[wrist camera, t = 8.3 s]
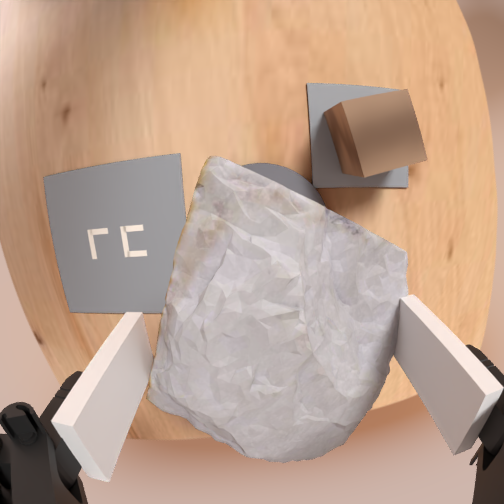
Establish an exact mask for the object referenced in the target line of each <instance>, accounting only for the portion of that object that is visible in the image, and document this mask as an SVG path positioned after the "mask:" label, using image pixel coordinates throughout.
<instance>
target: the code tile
mask: <svg viewBox="0 0 504 504" xmlns="http://www.w3.org/2000/svg"><path fill="white" fill-rule="evenodd" d="M44 186H45V195H46V202H47V209H48V216H49V222H50V228H51V234H52V239H53V244H54V250H55V254H56V259H57V264H58V268H59V272H60V276H61V280H62V284H63V288H64V292H65V296H66V299H67V303H68V307H69V310H70V312H80V313H126V312H143V313H162V311H163V309H164V306H165V304H166V302H165V297H166V293H167V289H168V285H169V281H170V277H171V274H172V270H173V258H174V254H175V250H176V247H177V244H178V241H179V238H180V235H181V232H182V229H183V227H184V225H185V223H186V212H185V202H184V191H183V179H182V167H181V154H180V153H179V154H170V155H162V156H155V157H147V158H140V159H134V160H127V161H121V162H115V163H109V164H103V165H98V166H93V167H87V168H82V169H77V170H72V171H68V172H63V173H58V174H54V175H50V176H45V177H44Z"/></svg>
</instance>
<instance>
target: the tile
mask: <svg viewBox="0 0 504 504" xmlns="http://www.w3.org/2000/svg"><path fill="white" fill-rule="evenodd" d="M392 91H398V90H397V89H389V88H380V87H371V86H359V85H345V84H324V83H307V93H308V106H309V121H310V137H311V157H312V182H313V187H314V188H336V187H408V166H404V167H401V168H397V169H393V170H390V171H386V172H383V173H379V174H376V175H372V176H369V177H365V178H363V177H358V176H353V175H348V174H343V173H342V170H341V167H340V163H339V160H338V156H337V153H336V150H335V147H334V143H333V140H332V137H331V134H330V131H329V128H328V125H327V122H326V119H325V116H324V113H323V112H325V111H327V110H328V109H330V108H331V107H333V106H335V105H336V104H338V103H340V102H342V101H346V100H351V99H355V98H360V97H365V96H370V95H375V94H381V93H386V92H392Z"/></svg>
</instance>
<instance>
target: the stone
mask: <svg viewBox="0 0 504 504" xmlns="http://www.w3.org/2000/svg"><path fill="white" fill-rule="evenodd" d="M407 266H408V258H407V252H406V251H404V250H403V249H401V248H399V247H398V246H396V245H394V244H392V243H390V242H389V241H387V240H385V239H383V238H381V237H379V236H377V235H376V234H374V233H372V232H370V231H368V230H367V229H365V228H363V227H362V226H360V225H358V224H356V223H354V222H352V221H351V220H349V219H347V218H345V217H343V216H341V215H339V214H337V213H335V212H333V211H331V210H329V209H327V208H326V207H324V206H322V205H321V204H319V203H317V202H315V201H313V200H311V199H309V198H307V197H304V196H302V195H300V194H298V193H296V192H294V191H292V190H290V189H288V188H286V187H285V186H283V185H281V184H279V183H277V182H275V181H273V180H270V179H268V178H266V177H264V176H262V175H260V174H258V173H255V172H253V171H251V170H249V169H247V168H244V167H242V166H240V165H238V164H235V163H233V162H231V161H229V160H227V159H224V158H222V157H218V156H210V157H209V158H208V159H207V160H206V162H205V164H204V166H203V168H202V170H201V173H200V176H199V179H198V182H197V185H196V187H195V191H194V195H193V198H192V202H191V206H190V209H189V213H188V216H187V220H186V223H185V225H184V227H183V229H182V232H181V235H180V238H179V241H178V244H177V247H176V250H175V254H174V258H173V270H172V274H171V277H170V281H169V285H168V289H167V293H166V297H165V302H166V304H165V306H164V309H163V311H162V316H161V321H160V326H159V332H158V340H157V349H156V354H155V357H154V361H153V365H152V369H151V373H150V378H149V390H148V395H147V399H148V400H149V401H150V402H151V403H153V404H154V405H155V406H157V407H158V408H159V409H160V410H162V411H164V412H167V413H170V414H173V415H178V416H181V417H183V418H186V419H187V420H188V421H189V422H190V423H191V424H192V425H193V426H194V427H195V428H196V429H198V430H200V431H203V432H205V433H207V434H209V435H211V436H212V437H213V439H214V440H216V441H219V442H222V443H226V444H227V445H229V446H231V447H232V448H234V449H235V450H236V451H238V452H239V453H241V454H242V455H244V456H246V457H250V458H258V459H264V460H267V461H269V462H282V463H286V462H289V461H292V460H293V461H301V460H310V459H315V458H317V457H321V456H323V455H325V454H326V453H327V452H329V451H331V450H333V449H334V448H336V447H338V446H341V445H343V444H344V443H345V442H346V441H347V439H348V437H349V436H350V435H351V434H352V432H353V431H354V430H355V428H356V427H357V426H358V424H359V423H360V421H361V420H362V419H363V417H364V416H365V415H366V413H367V411H368V410H370V409H371V408H372V405H373V403H374V402H375V401H376V399H377V398H378V396H379V394H380V391H381V389H382V387H383V385H384V383H385V380H386V377H387V375H388V374H389V372H390V367H389V362H390V360H391V358H392V356H393V354H394V353H395V349H396V343H397V335H398V325H399V310H400V298H402V297H406V296H407V295H408V286H407V281H406V271H407Z"/></svg>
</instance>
